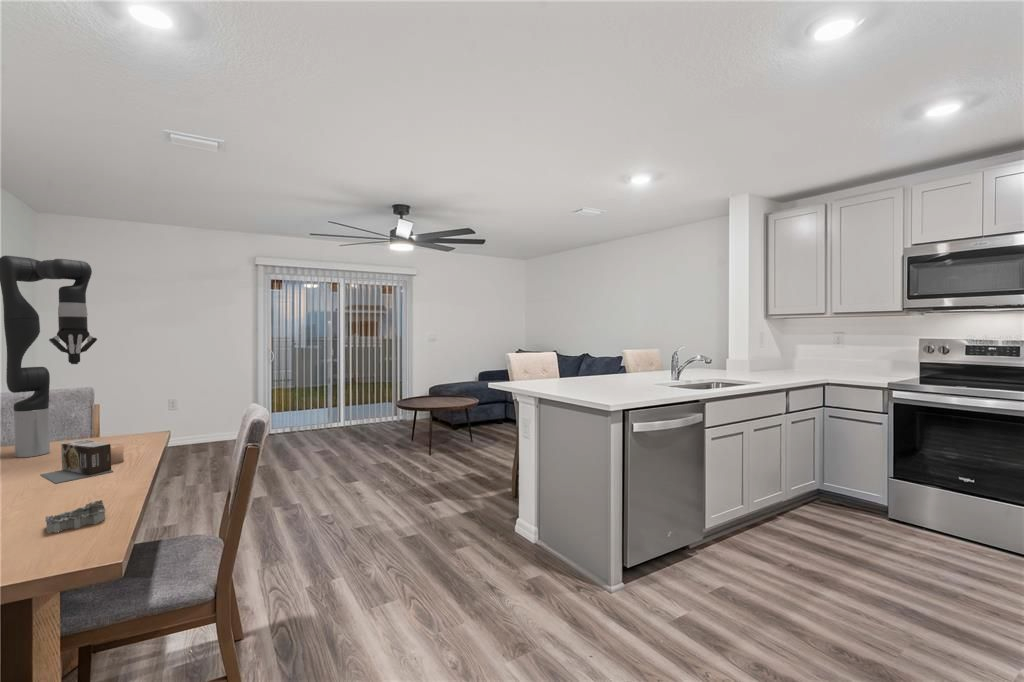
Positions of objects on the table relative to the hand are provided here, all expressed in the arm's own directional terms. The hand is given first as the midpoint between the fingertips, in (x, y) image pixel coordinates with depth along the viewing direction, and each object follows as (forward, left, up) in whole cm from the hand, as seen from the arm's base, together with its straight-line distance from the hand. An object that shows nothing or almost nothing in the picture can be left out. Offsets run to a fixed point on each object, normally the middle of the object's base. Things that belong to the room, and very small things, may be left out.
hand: (74, 364), depth 166 cm
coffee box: (+11, -4, -30) cm, 32 cm away
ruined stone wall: (+73, -18, -36) cm, 83 cm away
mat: (+20, -5, -35) cm, 41 cm away
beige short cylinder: (+14, +6, -35) cm, 38 cm away
